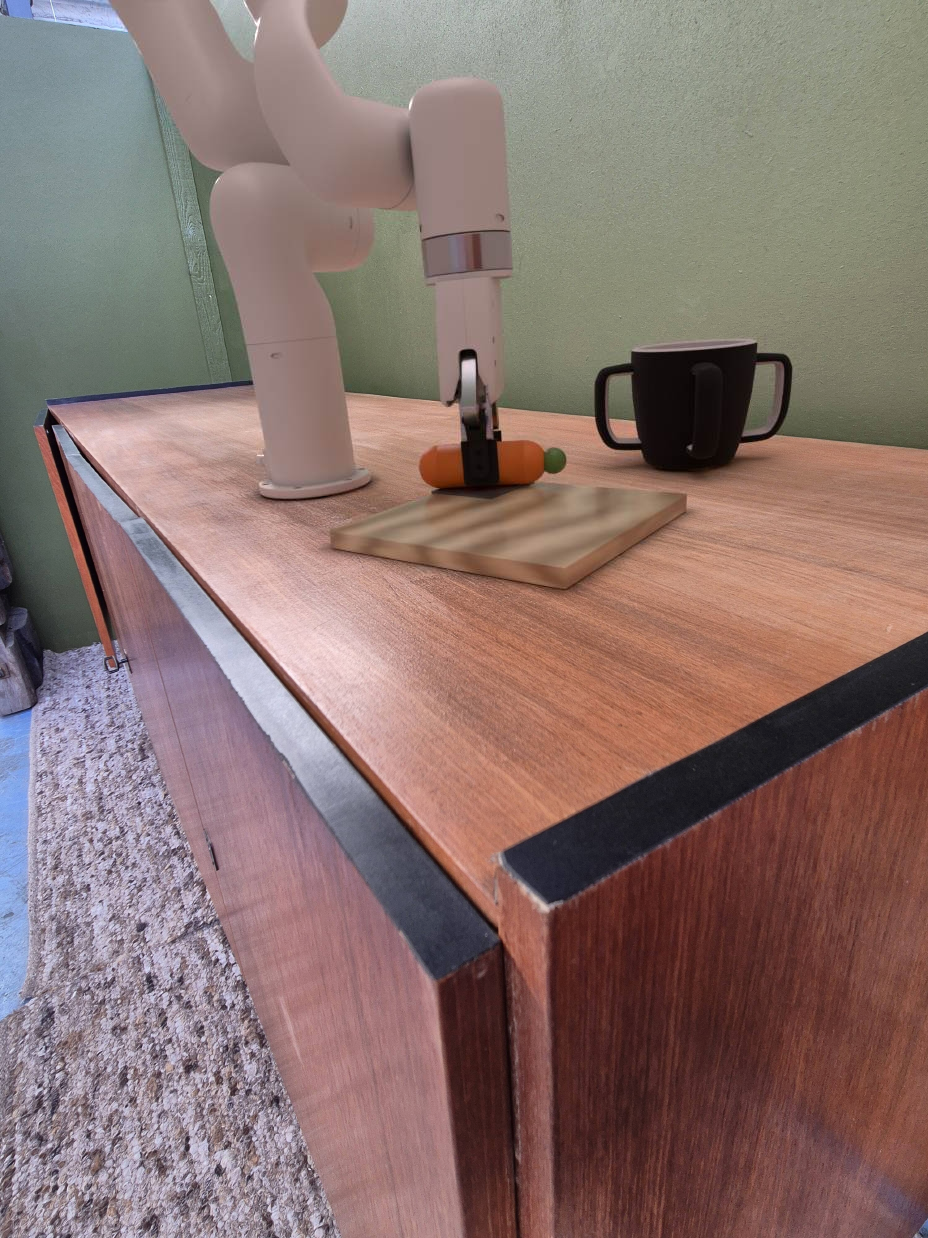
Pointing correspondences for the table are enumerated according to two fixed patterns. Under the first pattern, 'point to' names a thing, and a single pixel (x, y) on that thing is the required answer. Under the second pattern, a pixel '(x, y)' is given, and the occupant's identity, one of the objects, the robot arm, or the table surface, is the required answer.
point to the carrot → (514, 458)
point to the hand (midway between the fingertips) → (484, 476)
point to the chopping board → (514, 529)
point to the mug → (693, 401)
